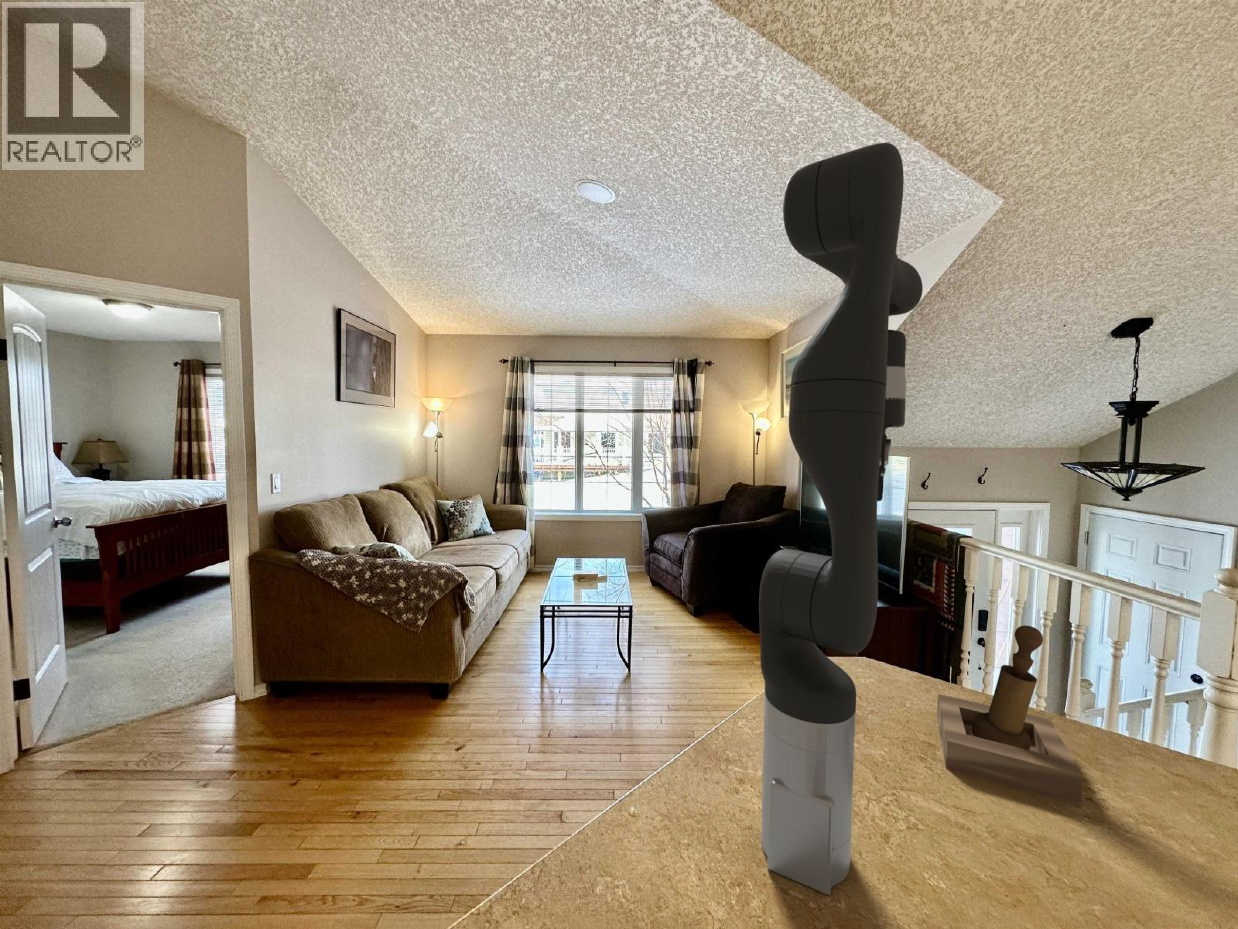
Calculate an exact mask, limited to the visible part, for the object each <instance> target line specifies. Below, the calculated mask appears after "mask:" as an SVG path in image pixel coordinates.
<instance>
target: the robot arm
mask: <svg viewBox="0 0 1238 929" xmlns="http://www.w3.org/2000/svg"><path fill="white" fill-rule="evenodd" d="M904 183H905V182H904V164H903V158H902V155H901V153H900V151H899V149H898V147H897V146H895V145H894V144H892V143H891V142H879V143H875V144H870V145H864V146H863V147H859V148H857V149H854V150H853V149H852V150H850V151H847V152H843V153H840V154H836V155H834V156H831V157H827V158H824V159H821V160H817V161H814V162H812V163H809V164H806V165H804V166H803V167H800V168H799V169H797V170H796V171H795V172H793V173H792V174H791V175H790V177H789V178H788V180H787V183H786V185H785V188H784V193H783V198H782V199H783V200H782V201H783V202H782V217H783V223H784V224H783V225H784V230H785V233H786V236H787V239H788V241H789V243H790V244H791V246H792V248H793V249H794V250H795V251H796V252H797V253H798V254H800V255H801V256H802V257H804V258H806V259H807V260H809V261H811V262H813V263H815V264H816V265H817V266H819V267H821V268H823V269H825V270H827V271H828V272H830V273H831V274H833V275H835V276H836V277H837V278H839V279H840V280H841V281H842V282H843V285H844V287H843V289H842V291H841V293H840V294H839V297H838V299H837V300H836V302H835V304H834V305H833V306H832V308H831V309H830V311H829V312H828V313H827V314H826V317H825V318H824V319H823V321H822V322H821V323H820V324H819V326H818V327H817V329H816V331H815V332H814V333H813V334H812V336H811V337H810V338H809V340H808V342H807V343H806V344H805V346H804V348H802V349H803V350H802V351H801V352H800V354H799V355H798V358H797V359H796V362H795V363H794V367H793V368H792V373H791V378H790V379H791V380H790V393H789V394H790V395H789V407H788V408H789V409H788V431H789V436H790V439H791V442H792V444H793V447H794V449H795V451H796V453H797V455H798V458H799V459H800V461H801V463H802V465H803V466H804V468H805V470H806V471H807V473H808V475H809V477H810V479H811V481H812V482H813V484H814V486H815V487H816V490H817V492H818V494H819V496H820V497H821V499H822V503H823V504H824V507H825V511H826V514H827V518H828V522H829V528H830V535H831V537H830V538H831V556H828V555H823V554H817V553H813V552H808V551H803V550H797V549H791V548H789V549H786V548H785V549H781V550H777V551H776V552H774V553H773V554H772V555H771V557H770V558H769V559H767V562H766V564H765V567H764V568H763V572H762V576H761V579H760V585H759V594H758V595H759V596H758V615H759V617H758V618H759V641H760V643H759V644H760V655H759V656H760V669H761V675H762V677H763V679H764V680H763V681H764V706H763V707H764V710H763V713H764V718H763V742H762V743H763V744H762V745H763V748H762V784H761V786H762V787H761V833H760V834H761V837H760V838H761V845H762V849H763V851H764V853H765V855H766V857H767V862H766V866H767V868H768V870H769V871H772V872H774V873H776V874H779V875H782V876H783V877H786V878H789V879H791V880H793V881H795V882H797V883H800V884H802V885H804V886H806V887H809V888H811V889H814V890H816V891H817V892H820V893H823V894H825V895H829V896H830V895H831V892H832V888H833V887H834V886H836V885H838V884H840V883H841V882H843V881H844V880H845V879H846V878H847V877H848V875H849V872H850V871H851V870H850V867H851V857H852V856H851V853H852V852H851V848H852V823H853V821H852V819H853V797H854V796H853V793H854V792H853V791H854V764H855V763H854V762H855V739H856V719H857V718H856V714H857V712H856V710H857V689H856V685H855V682H854V681H853V679H852V678H851V676H850V675H849V674H848V673H847V672H846V671H845V670H844V669H843V668H841V667H840V666H839V665H837V663H835V662H834V661H833V660H831V659H830V658H829V657H828V656H827V655H826V654H824V652H822V650H820V648H819V647H818V646H821V647H824V648H827V649H831V650H833V651H836V652H840V653H844V654H851V655H853V654H858V653H860V652H862V651H863V650H864V649H866V647H867V646H868V644H869V643H870V640H871V639H872V636H873V633H874V630H875V624H876V621H877V614H878V613H877V612H878V611H877V610H878V601H879V598H878V596H879V566H878V564H879V562H878V558H879V557H878V556H879V555H878V502H881V501H883V498H884V497H883V495H884V477H885V475H886V470H887V467H886V466H888V465H889V458H890V457H889V455H890V454H889V453H890V452H891V450H892V447H891V446H892V439H891V438H888V436H887V434H886V430H887V429H889V428H903V427H904V426H905V424H906V423H905V422H906V402H907V401H906V398H907V377H906V376H907V375H906V355H907V354H906V353H907V352H906V351H907V338H906V335H905V333H904V332H903V331H900V330H896V329H889V323H890V322H889V317H892V316H900V315H904V314H907V313H910V312H911V311H913V310H914V309H915V308H916V307H917V306H918V305H919V303H920V301H921V298H922V295H923V290H924V289H923V288H924V286H923V281H922V277H921V275H920V274H919V271H918V270H917V269H916V267H914V266H913V265H912V264H910V263H909V262H907V261H905V260H904V259H903V260H902V259H901V258H899V256H898V254H897V246H898V239H899V233H900V232H899V231H900V225H901V217H902V206H903V198H904Z"/></svg>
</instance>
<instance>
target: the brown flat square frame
mask: <svg viewBox="0 0 1238 929" xmlns="http://www.w3.org/2000/svg"><path fill="white" fill-rule="evenodd" d="M936 706H937V709H936V720H937V724H938V730H939V737H940V742H941V748H942V753H943V760H944V765H945V769H947V770H951V771H953V772H958V773H961V774H964V775H965V774H966V775H969V776H973V777H976V778H979V779H982V780H986V781H990V782H994V783H997V784H1000V785H1004V786H1008V787H1011V788H1013V789H1018V790H1022V791H1024V792H1029V793H1031V794H1036V795H1040V796H1042V797H1046V798H1049V799H1053V800H1056V801H1059V802H1063V803H1066V804H1071V805H1074V806H1078V807H1081V806H1082V791H1083V790H1082V789H1083V774H1082V772H1081V770H1080V768H1079V767H1078V765H1077V764H1076V762H1075V760H1074V758H1073V757H1072V756H1073V755H1072V754H1071V753H1070V751H1069V749H1068V748H1067V746H1066V744H1065V743H1064V741H1063V739H1062V737H1061V736H1060V734H1059V733H1058V730H1057V729H1056V727H1055V726H1054V724H1053V722H1052V720H1051V719H1050V718H1049V717H1044V716H1040V715H1035V714H1031V713H1027V715H1026V718H1025V722H1024V725H1023V729H1024V730H1025V732H1026V733H1027V735H1028V736H1029V737H1030V739H1031V746H1030V750H1026V749H1022V748H1018V747H1014V746H1010V745H1006V744H1002V743H998V742H994V741H990V740H986V739H982V738H978V737H975V736H974V735H973V733H972V726H973V723H974V719H975V717H976V715H978V714H981V713H988V712H989V709H990V706H991V704H986V703H981V702H976V701H973V700H972V701H971V700H967V699H963V698H958V697H955V696H949V695H945V694H939V693H938V694H937V705H936Z"/></svg>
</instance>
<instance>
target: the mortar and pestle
mask: <svg viewBox="0 0 1238 929" xmlns="http://www.w3.org/2000/svg"><path fill="white" fill-rule="evenodd" d="M1014 639H1015V641H1016V644H1017V648H1018V649H1017V652H1013V654H1012V665H1009V664H1003V665H1001V667H1000V671H999V675H998V678H997V681H996V682H997V683H996V685H995V689H994V693H993V696H992V699H991V703H990V705H991V706H990V709H989V712H988V713H981V714H978V715H976V717H975V719H974V723H973V726H972V733H973V735H974V736H975V737H978V738H982V739H986V740H990V741H994V742H998V743H1002V744H1006V745H1010V746H1014V747H1018V748H1022V749H1026V750H1030V746H1031V739H1030V737H1029V736H1028V735H1027V733H1026V732H1025V730H1024V729H1023V725H1024V722H1025V718H1026V715H1027V714H1028V711H1029V707H1030V704H1031V701H1032V698H1033V694H1034V691H1035V689H1036V685H1037V681H1038V679H1037V677H1036V676H1035V675H1033V674H1032V673H1031V672H1029V670H1030V669H1031V668H1032V666H1033V664H1034V662H1035V661H1034V660H1033V658H1032V653H1034V652H1035V651H1036V650H1037V649H1038V648H1039V647H1041V646H1042V644H1043V643H1044V642H1043V641H1044V637H1043V634H1042V633H1041V631H1040V630H1039V629H1038V628H1035V627H1034V626H1031V625H1021V626H1018V627H1017V628H1016V629H1015V631H1014Z"/></svg>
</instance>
